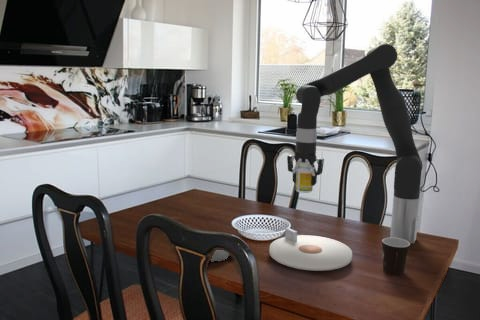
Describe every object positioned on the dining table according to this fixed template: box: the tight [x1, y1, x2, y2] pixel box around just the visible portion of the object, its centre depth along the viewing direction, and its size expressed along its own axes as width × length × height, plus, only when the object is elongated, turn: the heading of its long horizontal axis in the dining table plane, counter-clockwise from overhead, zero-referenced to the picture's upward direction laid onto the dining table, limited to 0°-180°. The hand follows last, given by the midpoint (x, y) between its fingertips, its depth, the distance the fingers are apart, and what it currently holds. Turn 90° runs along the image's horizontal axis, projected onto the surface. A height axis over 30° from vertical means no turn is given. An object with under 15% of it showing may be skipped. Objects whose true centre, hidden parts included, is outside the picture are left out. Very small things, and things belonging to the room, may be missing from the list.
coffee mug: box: [381, 237, 411, 277], centre depth 154 cm, size 12×9×10 cm
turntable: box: [269, 227, 353, 272], centre depth 165 cm, size 28×28×5 cm
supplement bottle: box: [295, 162, 314, 194], centre depth 180 cm, size 6×6×11 cm
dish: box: [210, 250, 229, 263], centre depth 166 cm, size 14×14×5 cm
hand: (304, 184), depth 180 cm, fingers closed on supplement bottle, 6 cm apart
